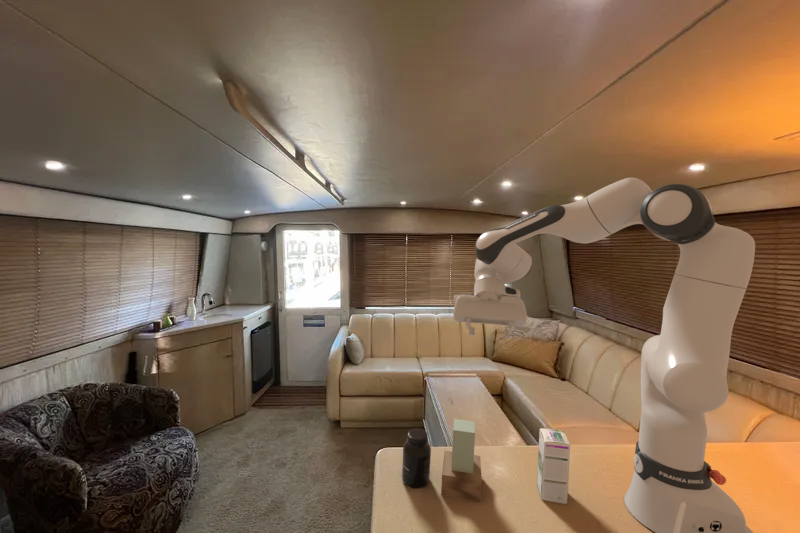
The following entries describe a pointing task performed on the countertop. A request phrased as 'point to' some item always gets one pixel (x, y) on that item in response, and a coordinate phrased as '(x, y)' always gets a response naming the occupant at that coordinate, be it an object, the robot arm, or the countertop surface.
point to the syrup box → (553, 465)
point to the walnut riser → (461, 480)
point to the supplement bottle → (416, 459)
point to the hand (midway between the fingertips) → (489, 336)
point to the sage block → (463, 446)
